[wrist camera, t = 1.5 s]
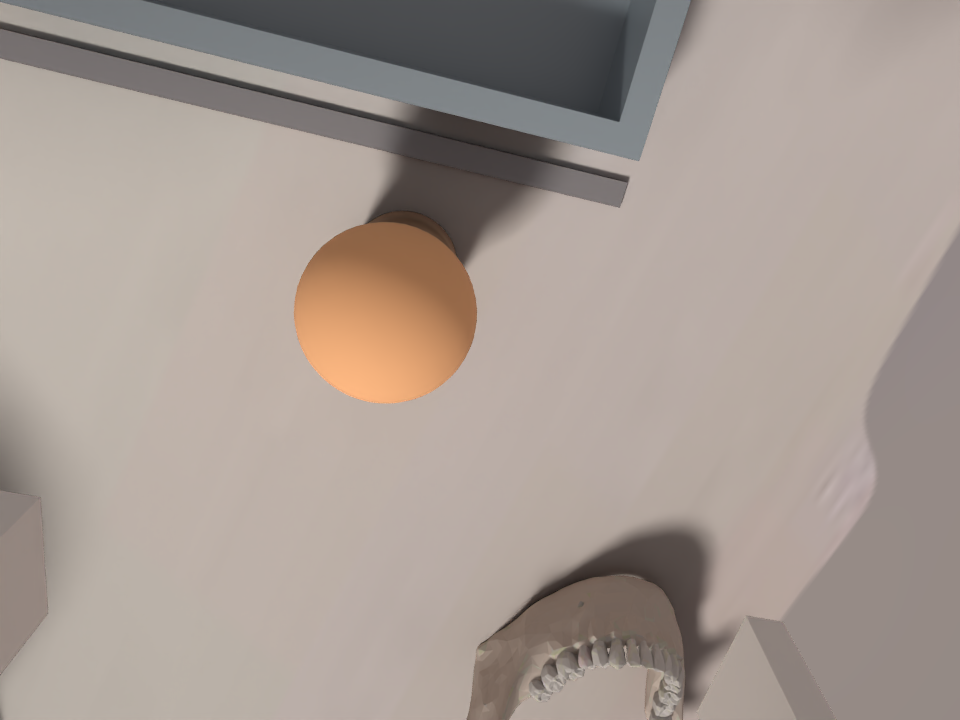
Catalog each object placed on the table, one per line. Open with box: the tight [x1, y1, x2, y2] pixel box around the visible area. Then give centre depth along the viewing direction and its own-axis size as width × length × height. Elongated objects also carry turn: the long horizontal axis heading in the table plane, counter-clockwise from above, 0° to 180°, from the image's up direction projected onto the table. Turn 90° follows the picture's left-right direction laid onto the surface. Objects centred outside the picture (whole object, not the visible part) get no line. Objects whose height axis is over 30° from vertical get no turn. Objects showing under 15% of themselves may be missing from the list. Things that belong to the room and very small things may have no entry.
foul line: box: [0, 28, 628, 208], centre depth 25 cm, size 24×1×1 cm, turn 77°
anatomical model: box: [467, 576, 685, 720], centre depth 34 cm, size 13×11×10 cm
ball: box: [294, 222, 477, 403], centre depth 22 cm, size 6×6×6 cm
